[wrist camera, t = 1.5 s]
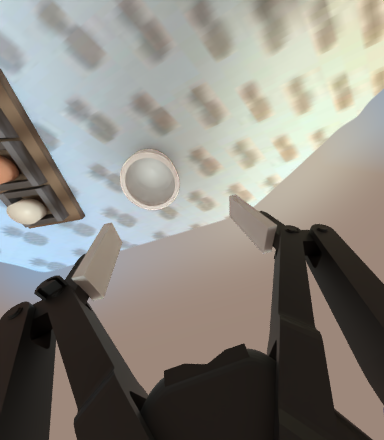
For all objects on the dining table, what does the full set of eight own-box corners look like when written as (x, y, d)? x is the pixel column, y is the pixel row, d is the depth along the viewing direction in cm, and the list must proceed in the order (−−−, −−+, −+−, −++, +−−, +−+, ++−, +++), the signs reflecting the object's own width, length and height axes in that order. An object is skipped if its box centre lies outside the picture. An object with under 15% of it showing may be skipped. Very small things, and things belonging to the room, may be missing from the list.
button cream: (12, 200, 31) (-1, 206, 28) (38, 196, 31) (27, 201, 29) (28, 219, 33) (18, 226, 31) (51, 215, 34) (43, 222, 32)
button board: (-91, 73, 23) (-146, 59, 19) (0, 68, 25) (-32, 54, 20) (34, 224, 39) (20, 235, 35) (85, 215, 40) (76, 224, 36)
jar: (180, 174, 40) (190, 191, 28) (150, 194, 41) (147, 219, 29) (156, 137, 35) (155, 137, 22) (123, 161, 36) (104, 175, 23)
